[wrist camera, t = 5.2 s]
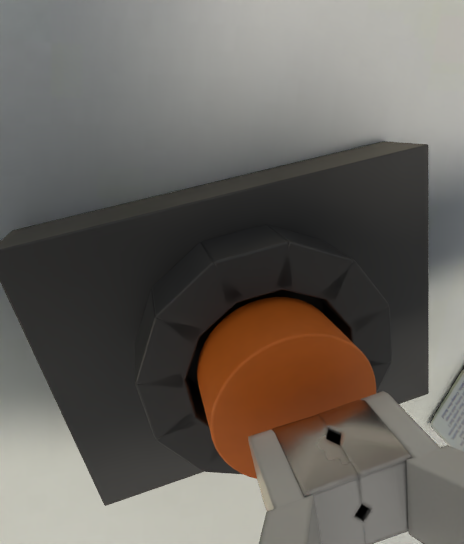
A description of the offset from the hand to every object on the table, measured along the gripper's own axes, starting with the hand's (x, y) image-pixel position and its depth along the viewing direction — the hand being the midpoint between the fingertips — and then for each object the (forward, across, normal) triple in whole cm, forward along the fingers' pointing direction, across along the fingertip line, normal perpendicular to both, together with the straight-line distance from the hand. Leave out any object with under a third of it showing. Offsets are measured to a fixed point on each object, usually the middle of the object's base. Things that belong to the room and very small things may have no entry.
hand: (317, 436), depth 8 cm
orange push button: (+6, 0, 0) cm, 6 cm away
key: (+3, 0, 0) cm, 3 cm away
